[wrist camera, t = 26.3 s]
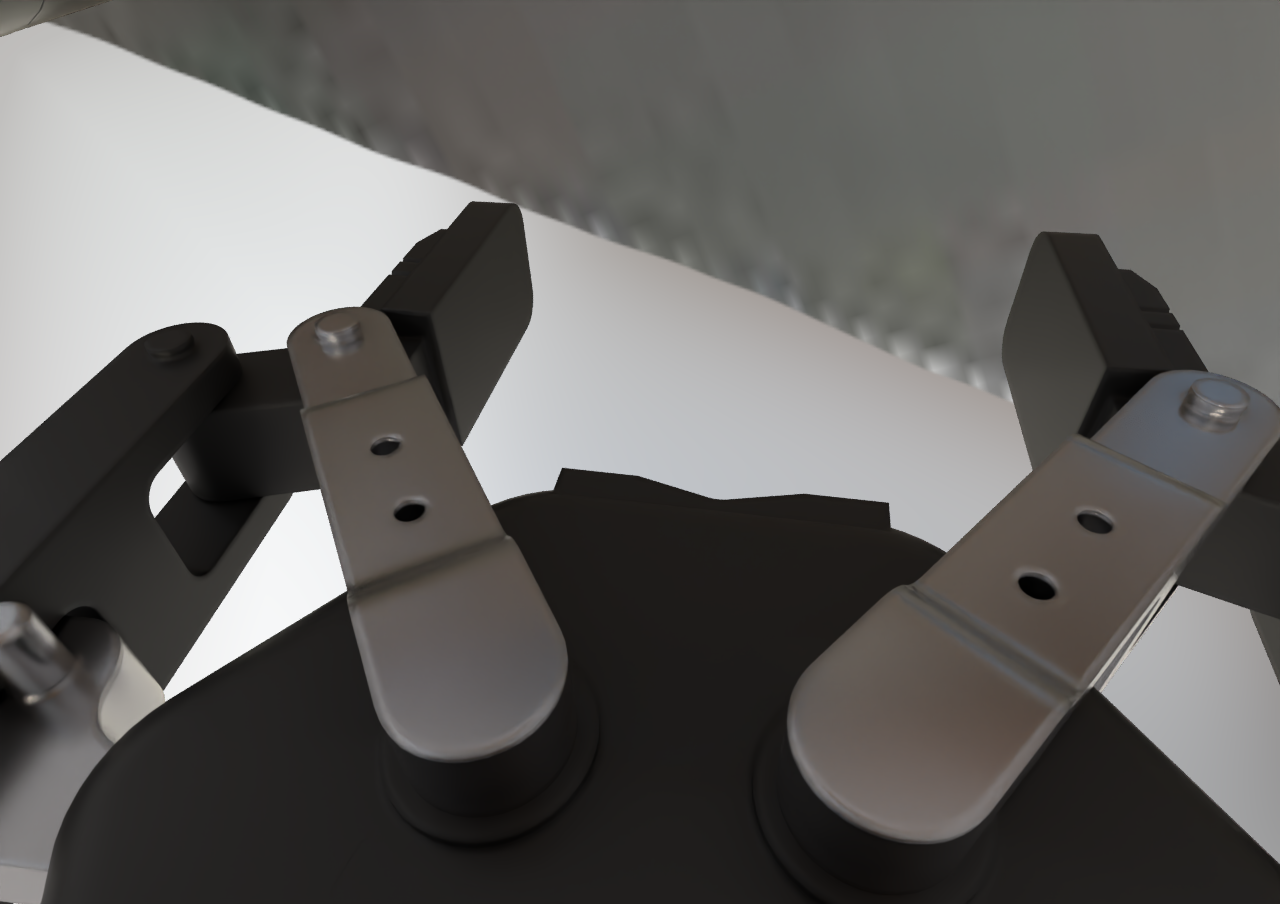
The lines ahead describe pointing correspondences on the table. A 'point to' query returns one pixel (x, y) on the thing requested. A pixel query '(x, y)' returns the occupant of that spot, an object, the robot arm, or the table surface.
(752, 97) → the table surface
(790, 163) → the table surface
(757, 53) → the table surface
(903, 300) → the table surface
